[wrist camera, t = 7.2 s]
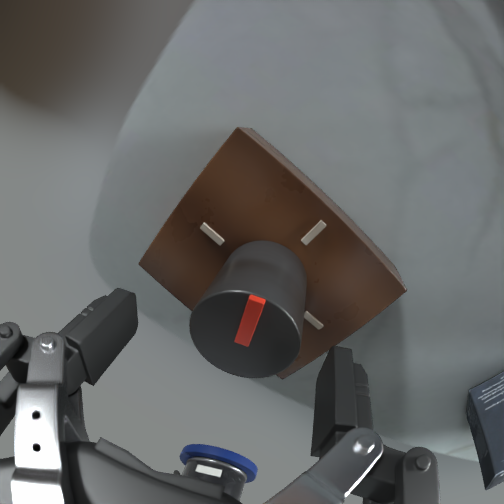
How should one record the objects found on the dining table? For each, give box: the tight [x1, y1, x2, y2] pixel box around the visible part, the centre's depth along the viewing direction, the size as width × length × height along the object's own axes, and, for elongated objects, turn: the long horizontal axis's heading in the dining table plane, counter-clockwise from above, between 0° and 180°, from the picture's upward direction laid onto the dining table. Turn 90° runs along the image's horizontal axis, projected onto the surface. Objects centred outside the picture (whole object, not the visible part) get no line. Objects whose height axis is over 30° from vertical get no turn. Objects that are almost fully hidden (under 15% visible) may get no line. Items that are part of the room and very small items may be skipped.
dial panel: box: [139, 127, 407, 379], centre depth 16 cm, size 10×12×3 cm
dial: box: [189, 240, 307, 378], centre depth 13 cm, size 4×4×5 cm
